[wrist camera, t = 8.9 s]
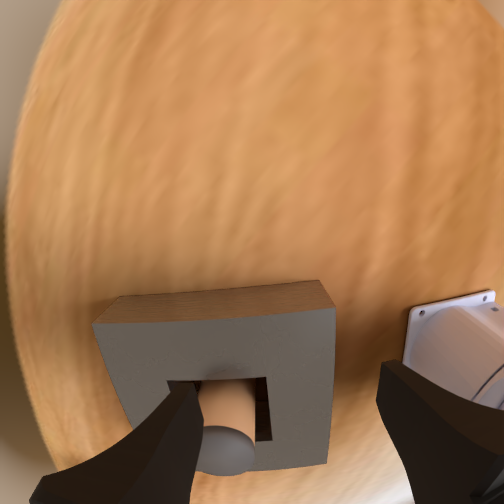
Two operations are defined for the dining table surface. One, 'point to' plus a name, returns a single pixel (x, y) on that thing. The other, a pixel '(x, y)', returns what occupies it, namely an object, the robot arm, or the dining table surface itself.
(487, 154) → the dining table surface
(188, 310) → the block
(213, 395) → the pin
